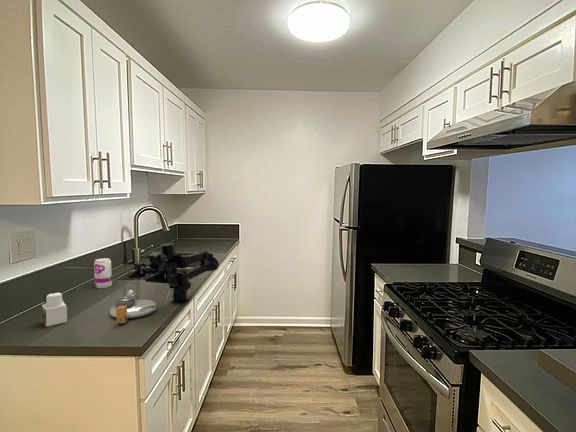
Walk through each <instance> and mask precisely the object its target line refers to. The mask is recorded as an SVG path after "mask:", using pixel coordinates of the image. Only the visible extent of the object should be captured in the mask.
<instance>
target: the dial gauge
mask: <svg viewBox="0 0 576 432" xmlns="http://www.w3.org/2000/svg"><path fill="white" fill-rule="evenodd" d="M125 296H135V300H139V293H137V292H136V293H135V292H134V291H133V290H132V289H129V290H127V291H126V295H125Z"/></svg>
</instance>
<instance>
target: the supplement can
mask: <svg viewBox="0 0 576 432" xmlns="http://www.w3.org/2000/svg"><path fill="white" fill-rule="evenodd" d="M93 268H94V269H93V270H94V271H93V273H94V287H95V288H97V289H106V288H110V287H111V286H112V285H113V277H112V276H113V275H112V274H113V273H112V272H113V271H112V261H111V258H109V257H108V258H107V257H105V258H96V259H94V263H93Z"/></svg>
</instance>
